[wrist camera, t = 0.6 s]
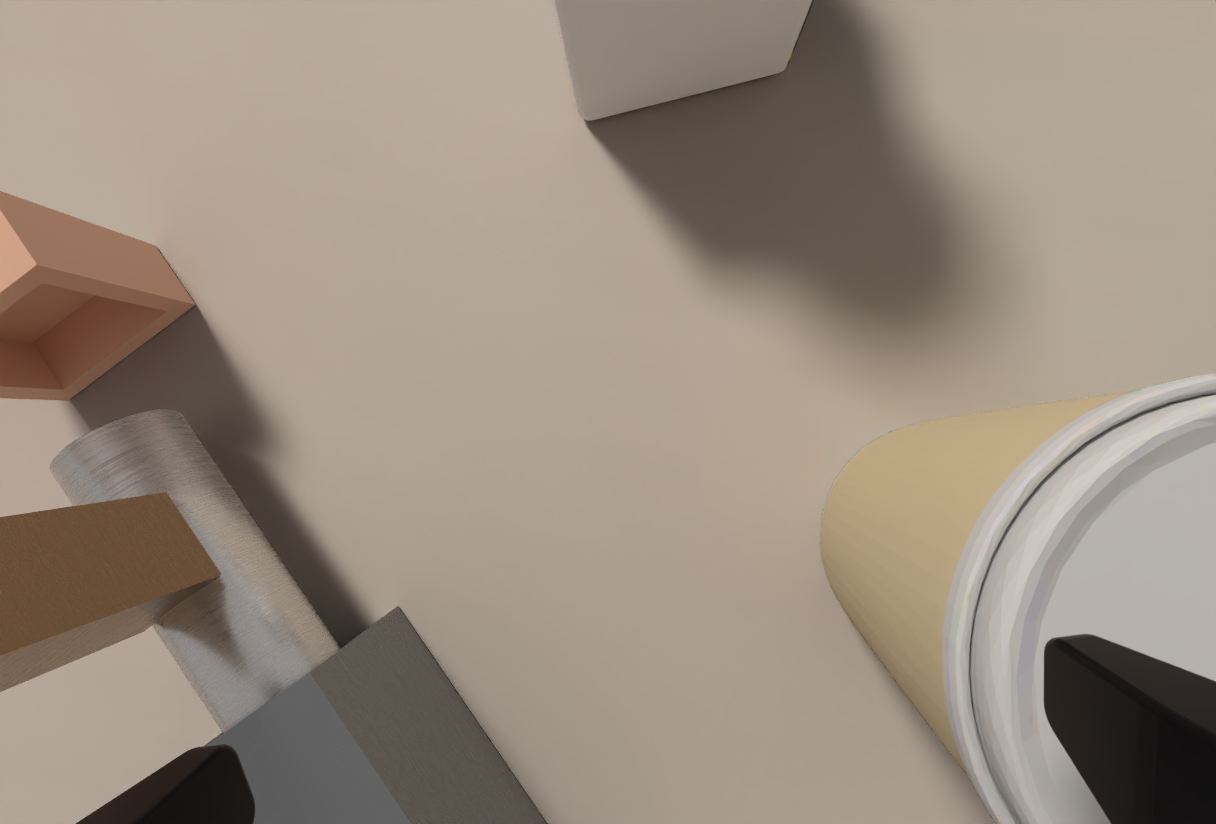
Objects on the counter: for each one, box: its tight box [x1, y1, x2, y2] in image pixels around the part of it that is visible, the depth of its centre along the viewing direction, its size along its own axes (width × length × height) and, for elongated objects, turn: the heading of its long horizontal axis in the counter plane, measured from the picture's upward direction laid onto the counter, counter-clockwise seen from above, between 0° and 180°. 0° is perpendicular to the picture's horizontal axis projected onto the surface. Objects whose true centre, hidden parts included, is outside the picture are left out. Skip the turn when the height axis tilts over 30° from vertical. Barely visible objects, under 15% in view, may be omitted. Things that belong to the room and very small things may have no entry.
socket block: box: [0, 191, 196, 400], centre depth 20 cm, size 3×6×6 cm, turn 125°
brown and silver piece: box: [0, 409, 341, 733], centre depth 15 cm, size 18×4×12 cm, turn 35°
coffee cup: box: [820, 373, 1216, 824], centre depth 15 cm, size 9×9×12 cm
